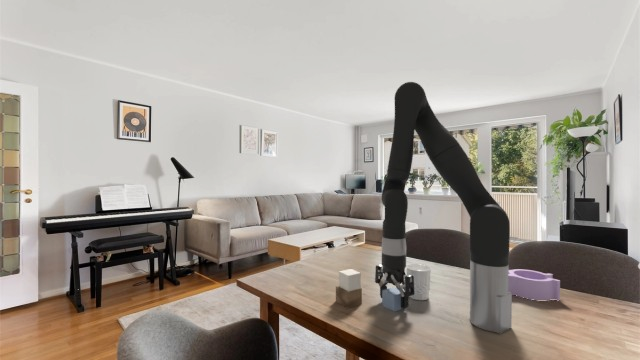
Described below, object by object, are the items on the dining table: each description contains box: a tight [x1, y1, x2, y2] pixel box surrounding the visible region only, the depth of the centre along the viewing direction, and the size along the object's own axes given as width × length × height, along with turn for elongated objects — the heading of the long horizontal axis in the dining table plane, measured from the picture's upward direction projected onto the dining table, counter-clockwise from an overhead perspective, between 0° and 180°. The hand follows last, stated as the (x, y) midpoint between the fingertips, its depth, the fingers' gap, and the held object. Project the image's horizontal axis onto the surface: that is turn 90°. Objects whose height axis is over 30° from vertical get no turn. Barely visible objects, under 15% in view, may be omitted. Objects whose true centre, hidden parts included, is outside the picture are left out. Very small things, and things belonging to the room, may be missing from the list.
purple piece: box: [508, 268, 561, 301], centre depth 104 cm, size 20×12×7 cm, turn 69°
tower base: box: [335, 285, 363, 309], centre depth 96 cm, size 6×6×5 cm
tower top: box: [338, 268, 362, 292], centre depth 96 cm, size 5×5×5 cm
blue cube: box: [381, 286, 404, 312], centre depth 93 cm, size 5×5×5 cm
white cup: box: [405, 263, 432, 301], centre depth 101 cm, size 8×8×10 cm
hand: (393, 302), depth 93 cm, fingers open, 8 cm apart
